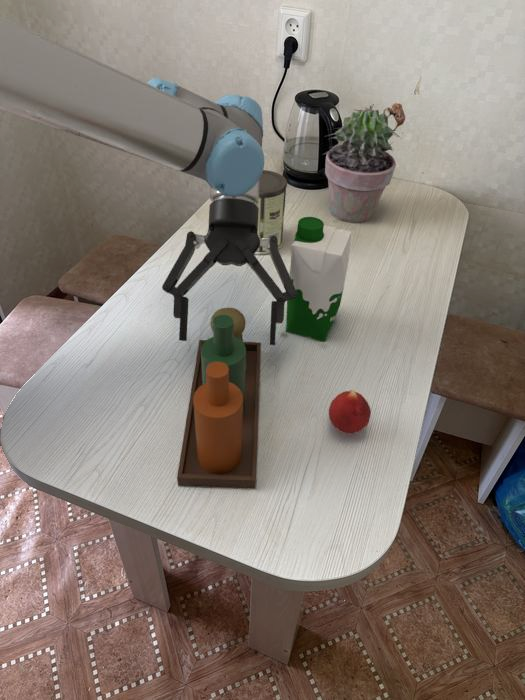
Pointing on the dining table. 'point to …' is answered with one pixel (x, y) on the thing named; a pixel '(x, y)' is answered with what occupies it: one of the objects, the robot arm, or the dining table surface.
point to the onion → (349, 412)
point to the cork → (237, 321)
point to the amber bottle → (218, 421)
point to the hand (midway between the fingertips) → (227, 342)
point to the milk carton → (317, 277)
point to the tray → (247, 468)
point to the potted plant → (361, 163)
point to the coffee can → (271, 207)
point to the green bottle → (225, 352)
